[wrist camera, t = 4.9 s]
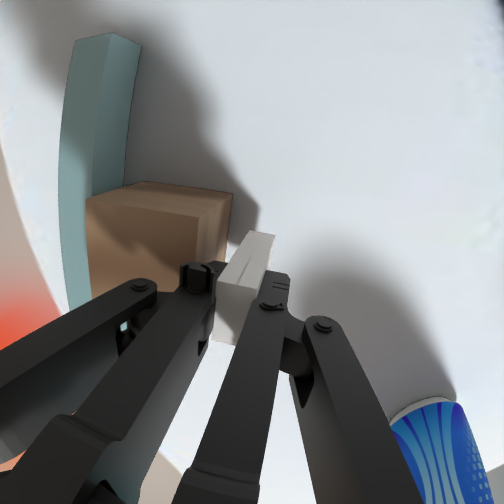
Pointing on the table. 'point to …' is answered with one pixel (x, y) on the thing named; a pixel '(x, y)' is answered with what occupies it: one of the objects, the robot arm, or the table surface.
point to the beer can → (441, 452)
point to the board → (92, 144)
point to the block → (153, 233)
